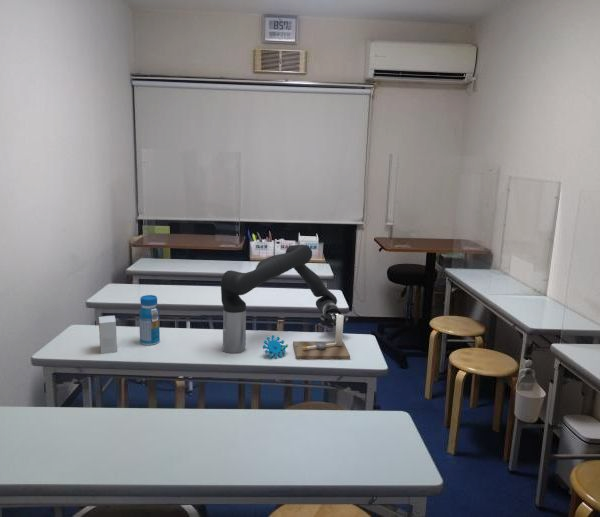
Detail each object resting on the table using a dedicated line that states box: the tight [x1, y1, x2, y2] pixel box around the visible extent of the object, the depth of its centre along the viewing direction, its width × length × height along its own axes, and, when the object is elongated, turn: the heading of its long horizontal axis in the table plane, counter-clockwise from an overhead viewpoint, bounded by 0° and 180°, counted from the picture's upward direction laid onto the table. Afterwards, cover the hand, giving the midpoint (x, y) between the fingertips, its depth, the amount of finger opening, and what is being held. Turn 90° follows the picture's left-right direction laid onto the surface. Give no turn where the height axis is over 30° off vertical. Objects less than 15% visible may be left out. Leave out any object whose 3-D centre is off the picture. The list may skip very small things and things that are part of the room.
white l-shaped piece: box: [302, 313, 345, 350], centre depth 212 cm, size 18×4×13 cm, turn 115°
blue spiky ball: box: [262, 334, 289, 359], centre depth 209 cm, size 11×6×10 cm
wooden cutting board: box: [292, 340, 351, 361], centre depth 214 cm, size 22×16×2 cm
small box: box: [98, 315, 118, 354], centre depth 207 cm, size 8×6×13 cm
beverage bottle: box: [138, 294, 161, 346], centre depth 215 cm, size 8×8×20 cm
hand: (337, 324), depth 221 cm, fingers closed
